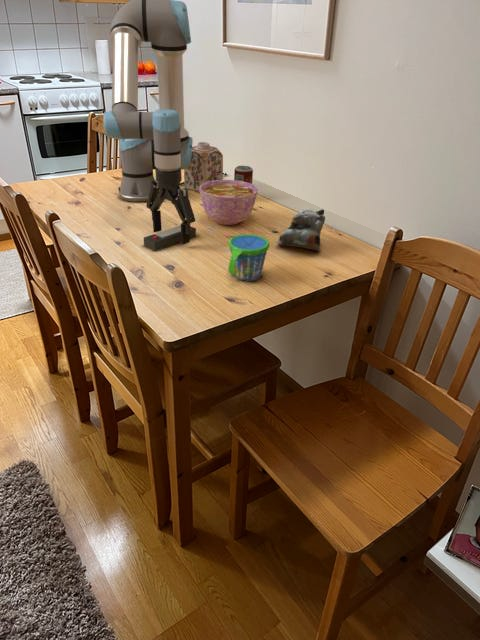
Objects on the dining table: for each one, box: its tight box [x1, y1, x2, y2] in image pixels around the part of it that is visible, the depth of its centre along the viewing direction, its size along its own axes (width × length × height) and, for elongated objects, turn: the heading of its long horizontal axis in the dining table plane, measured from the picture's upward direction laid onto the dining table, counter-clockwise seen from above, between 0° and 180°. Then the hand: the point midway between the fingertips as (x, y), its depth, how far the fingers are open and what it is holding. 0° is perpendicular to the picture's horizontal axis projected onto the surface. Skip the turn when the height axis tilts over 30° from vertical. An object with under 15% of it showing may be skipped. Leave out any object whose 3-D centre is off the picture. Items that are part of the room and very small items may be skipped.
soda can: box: [233, 165, 254, 184], centre depth 188 cm, size 7×7×12 cm
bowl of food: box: [199, 179, 259, 226], centre depth 167 cm, size 20×20×12 cm
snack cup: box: [227, 234, 270, 282], centre depth 131 cm, size 16×10×10 cm
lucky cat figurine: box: [275, 208, 326, 252], centre depth 150 cm, size 15×12×14 cm
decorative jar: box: [183, 141, 224, 193], centre depth 196 cm, size 12×12×18 cm
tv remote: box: [143, 224, 197, 252], centre depth 152 cm, size 17×5×3 cm, turn 138°
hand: (171, 237), depth 152 cm, fingers open, 13 cm apart
